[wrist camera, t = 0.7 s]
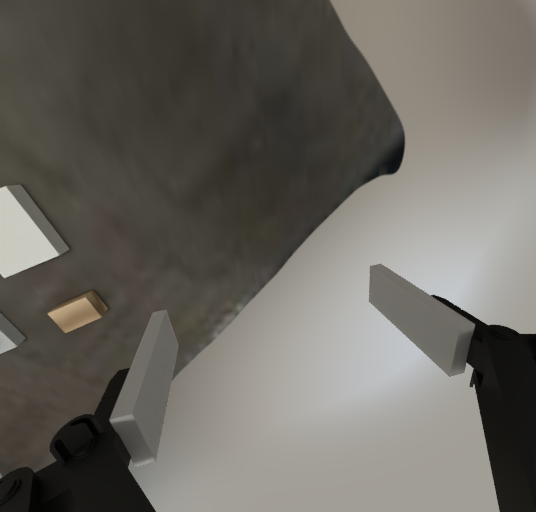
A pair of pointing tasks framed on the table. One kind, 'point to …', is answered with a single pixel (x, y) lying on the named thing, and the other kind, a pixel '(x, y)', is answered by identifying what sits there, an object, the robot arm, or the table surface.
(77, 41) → the table surface
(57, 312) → the wooden block
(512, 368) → the robot arm
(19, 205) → the white rectangular block
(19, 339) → the holder
